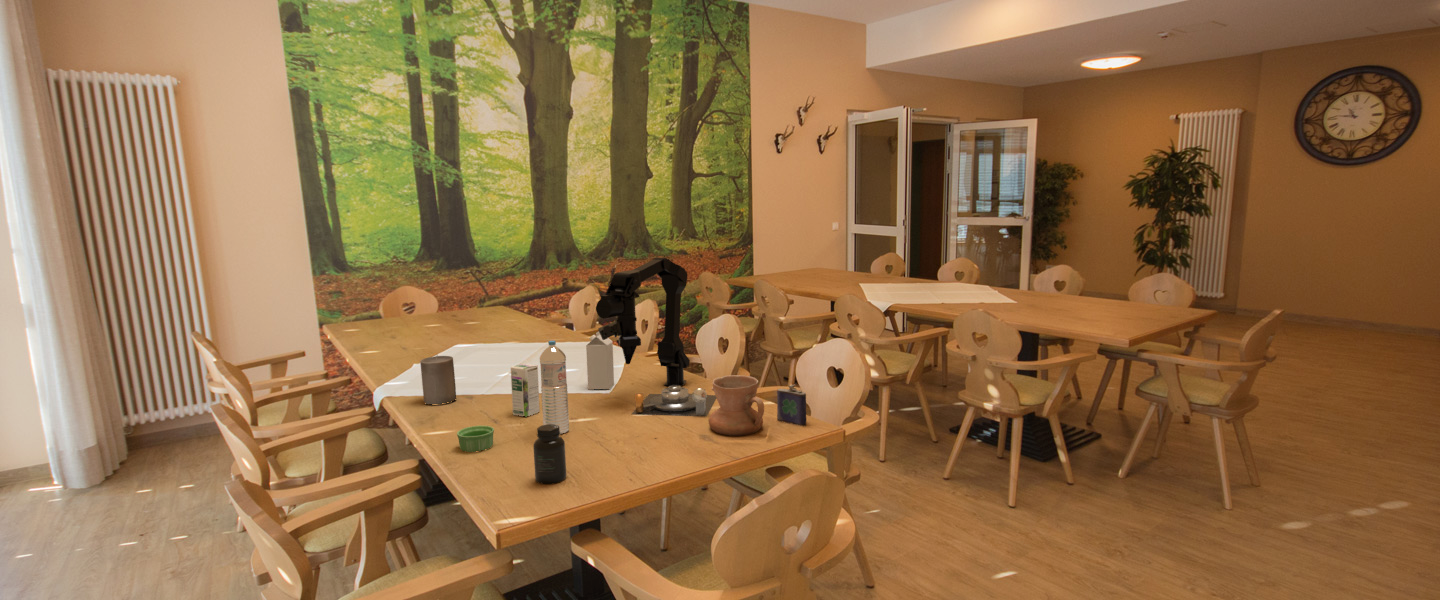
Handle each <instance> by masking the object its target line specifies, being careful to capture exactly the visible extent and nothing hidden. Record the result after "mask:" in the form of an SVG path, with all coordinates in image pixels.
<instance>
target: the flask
mask: <svg viewBox="0 0 1440 600" xmlns="http://www.w3.org/2000/svg"><path fill="white" fill-rule="evenodd" d="M795 386H796V384H791V385H788V388H789V389H786V388H778V389H777V390H776V394H777V395H776V397H777V412H776V413H777V416H776V417H777V418H776V419H777V421H778V422H780V423H781V422H783V423H786V424H791V425H796V426H799V427H805V426H807V394H806V392H803V391H802V390H798V389H797V388H795Z"/></svg>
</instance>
